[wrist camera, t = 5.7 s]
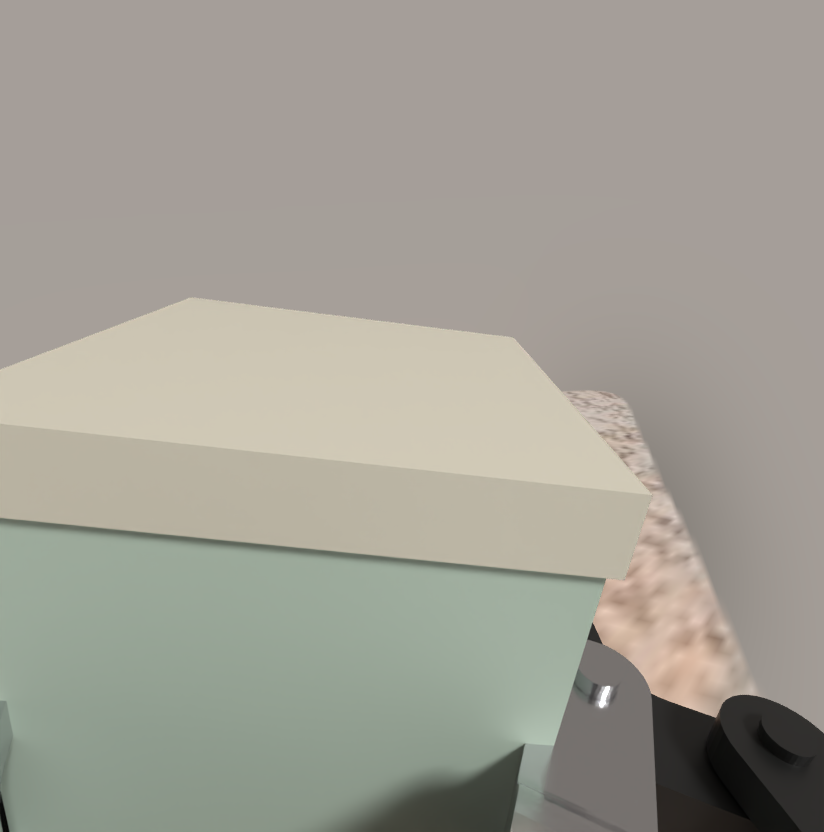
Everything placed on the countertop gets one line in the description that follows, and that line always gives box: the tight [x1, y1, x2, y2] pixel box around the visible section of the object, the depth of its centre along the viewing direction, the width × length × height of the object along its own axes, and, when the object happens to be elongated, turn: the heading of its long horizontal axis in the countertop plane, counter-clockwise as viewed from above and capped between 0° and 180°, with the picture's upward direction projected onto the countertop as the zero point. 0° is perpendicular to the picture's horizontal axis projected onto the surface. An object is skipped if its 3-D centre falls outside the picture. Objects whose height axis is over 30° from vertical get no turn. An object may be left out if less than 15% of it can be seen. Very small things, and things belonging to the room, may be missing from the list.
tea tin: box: [0, 297, 652, 832], centre depth 8 cm, size 6×6×10 cm
